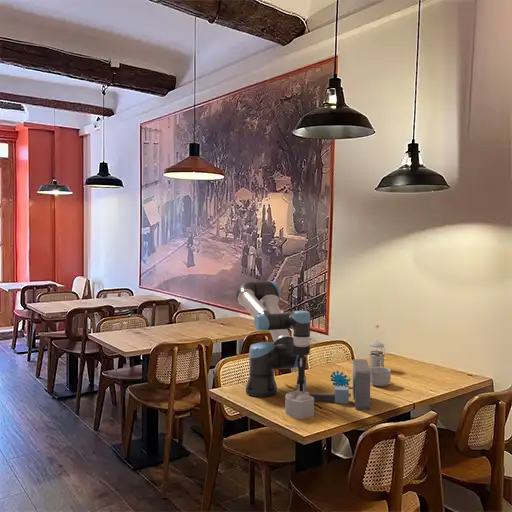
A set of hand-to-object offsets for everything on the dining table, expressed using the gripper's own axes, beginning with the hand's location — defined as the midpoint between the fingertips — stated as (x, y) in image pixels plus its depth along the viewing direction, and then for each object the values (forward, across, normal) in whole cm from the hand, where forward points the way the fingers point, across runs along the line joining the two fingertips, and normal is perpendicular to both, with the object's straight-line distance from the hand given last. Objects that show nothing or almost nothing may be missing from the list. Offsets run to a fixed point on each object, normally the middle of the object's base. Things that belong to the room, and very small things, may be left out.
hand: (301, 395), depth 225 cm
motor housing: (+2, 0, -27) cm, 27 cm away
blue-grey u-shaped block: (+2, 0, -10) cm, 10 cm away
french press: (+2, +61, -40) cm, 73 cm away
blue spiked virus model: (+2, +22, -18) cm, 29 cm away
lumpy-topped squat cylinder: (+2, -17, +1) cm, 17 cm away
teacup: (+2, +31, -38) cm, 49 cm away
